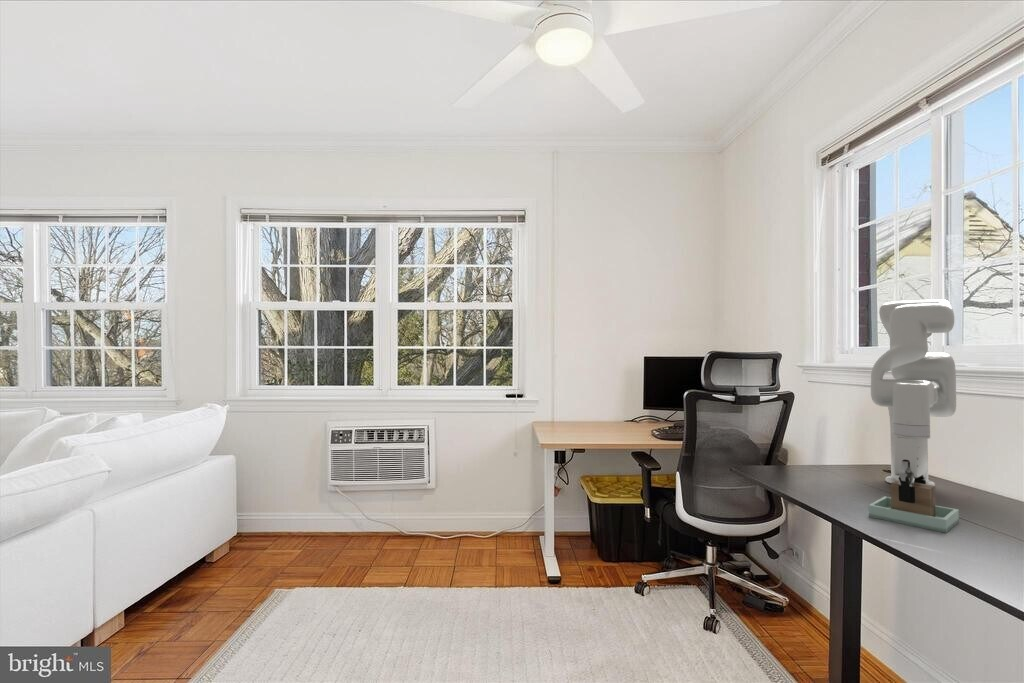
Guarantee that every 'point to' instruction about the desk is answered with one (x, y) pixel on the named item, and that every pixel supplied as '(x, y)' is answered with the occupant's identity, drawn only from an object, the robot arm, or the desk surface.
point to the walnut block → (922, 499)
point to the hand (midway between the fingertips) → (912, 498)
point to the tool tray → (915, 516)
